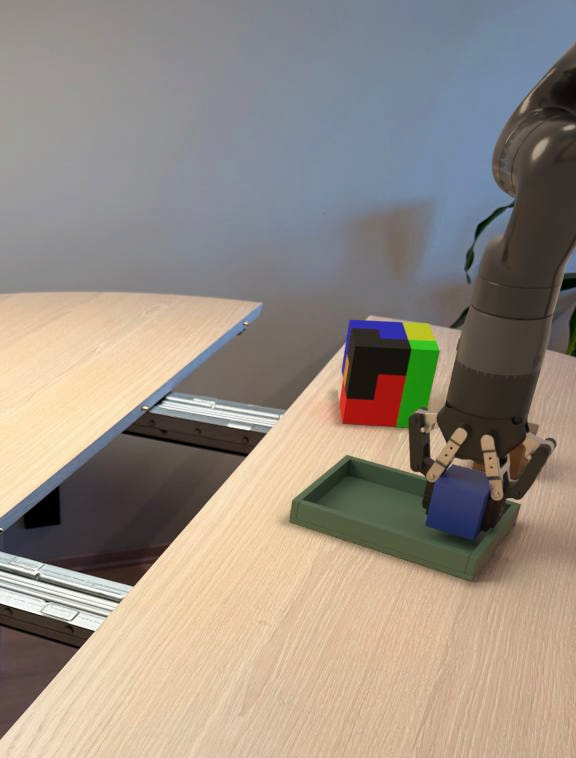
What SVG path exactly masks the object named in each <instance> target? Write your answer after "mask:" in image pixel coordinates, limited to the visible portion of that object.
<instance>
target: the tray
mask: <svg viewBox="0 0 576 758" xmlns="http://www.w3.org/2000/svg"><path fill="white" fill-rule="evenodd" d="M426 482H427V480H426V477H425V476H424V475H420V474H417V473H413V472H410V471H406V470H402V469H399V468H396V467H393V466H392V467H391V466H388V465H385V464H381V463H377V462H375V461H370V460H367V459H364V458H360V457H357V456H353V455H350V454H346V455H344V456H343V457H342V458H341V459H340V460H338V461H337V462H336V463H335V464H334V465H333V466H331V467H330V468H329V469H328V470H326V471H325V472H323V474H321V476H319V477H318V478H317V479H316V480H314V481H313V482H312V483H311V484H310V485H308V486H307V487H306V488H305V489H303V490H302V491H301V492H299V494H298V495H296V496H295V497H294V498H293V499H291V503H290V504H291V505H290V512H289V519H288V522H289V523H292V524H295V525H298V526H302V527H305V528H306V529H311V530H313V531H316V532H320V533H323V534H325V535H328V536H332V537H335V538H338V539H341V540H343V541H347V542H350V543H353V544H356V545H360V546H363V547H365V548H368V549H371V550H373V551H374V550H375V551H377V552H381V553H383V554H387V555H390V556H393V557H396V558H399V559H402V560H405V561H408V562H411V563H415V564H417V565H420V566H424V567H427V568H430V569H432V570H436V571H439V572H441V573H445V574H448V575H450V576H455V577H457V578H460V579H463V580H466V581H468V582H473V580H474V579H475V578H476V576H477V575H478V574H479V572H481V570H482V569H483V568H484V566H485V565H486V563H487V562H488V561H489V560H490V558H491V557H492V556H493V554H494V553H495V552H496V551H497V550H498V548H499V547H500V545H501V544H502V543H503V542H504V540H505V539H506V538H507V537H508V535H509V534H510V532H511V531H512V530H513V529H514V528H515V526H516V524H517V520H518V517H519V514H520V510H521V508H522V507H521V506H522V504H521V503H519V502H517V501H512V500H509V499H506V502H505V506H504V510H503V513H502V517H501V519H500V521H499V522H498V523H497V524H496V526H495V527H494V528H490V529H489V530H488V531H487V532H484V531H481V532H480V533H479V534H478V536H477V537H476V538H475V539H474V540H470V539H467V538H463V537H460V536H457V535H454V534H450V533H447V532H444V531H440V530H437V529H434V528H430V527H427V526H425V524H426V519H427V515H426V509H425V508H423V507H422V500H423V496H424V491H425V487H426Z"/></svg>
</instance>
